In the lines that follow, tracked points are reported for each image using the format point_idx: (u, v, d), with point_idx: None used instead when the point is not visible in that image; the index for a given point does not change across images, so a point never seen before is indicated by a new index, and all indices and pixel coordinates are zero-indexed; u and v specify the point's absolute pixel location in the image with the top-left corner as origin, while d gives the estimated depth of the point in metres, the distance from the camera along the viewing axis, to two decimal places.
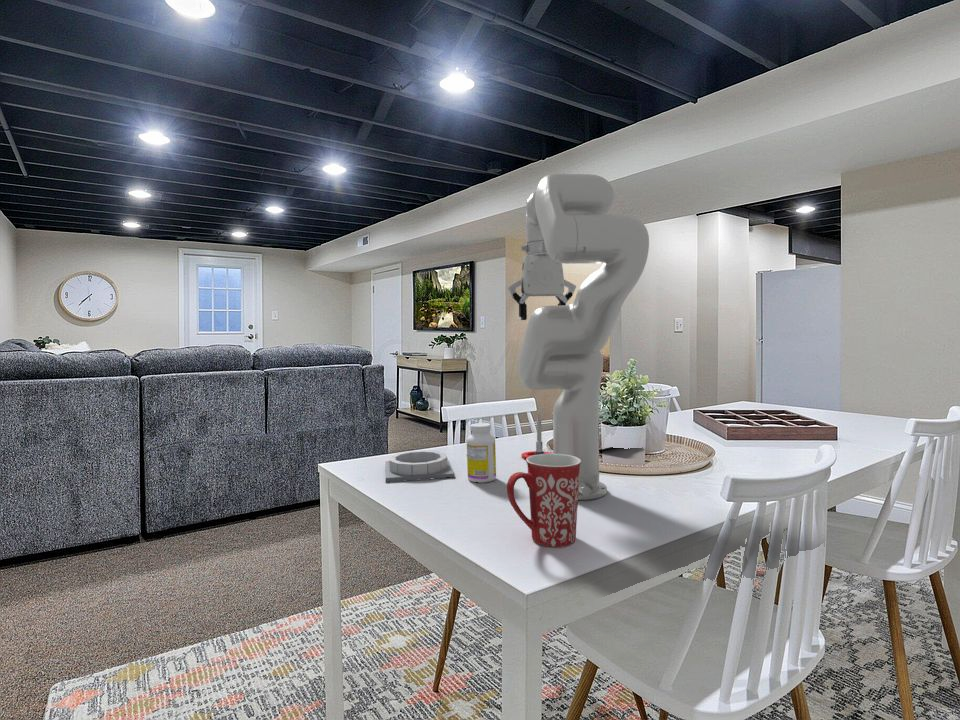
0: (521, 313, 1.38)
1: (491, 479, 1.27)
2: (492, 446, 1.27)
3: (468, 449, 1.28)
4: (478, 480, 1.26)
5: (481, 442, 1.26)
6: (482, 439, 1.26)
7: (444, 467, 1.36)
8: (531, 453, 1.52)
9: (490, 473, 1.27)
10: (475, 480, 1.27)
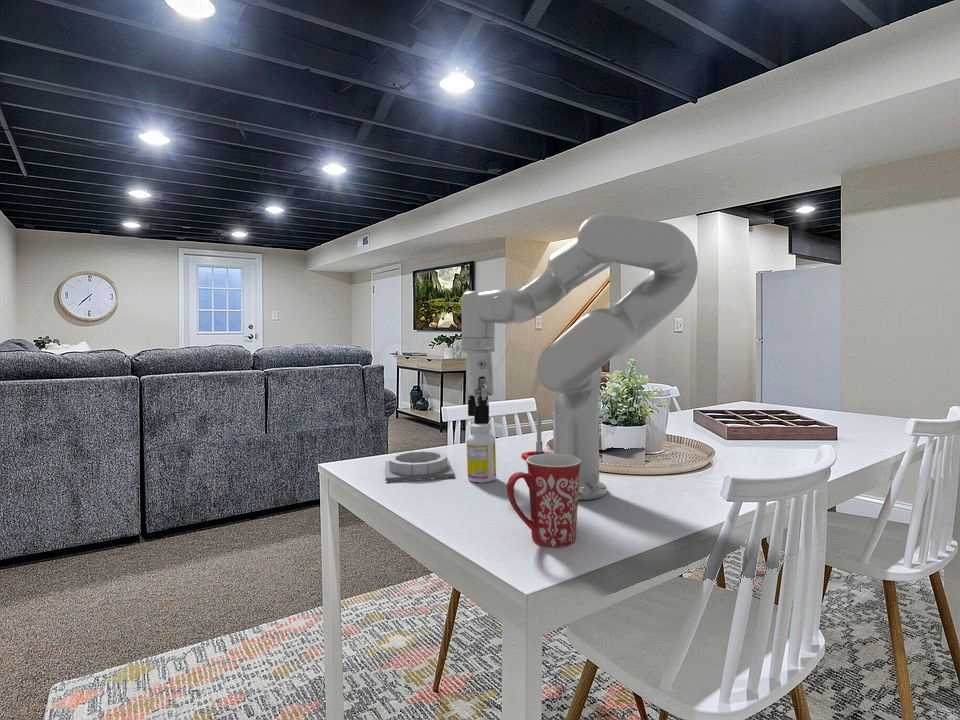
0: (485, 416, 1.24)
1: (491, 479, 1.27)
2: (492, 446, 1.27)
3: (468, 449, 1.28)
4: (478, 480, 1.26)
5: (481, 442, 1.26)
6: (482, 439, 1.26)
7: (444, 467, 1.36)
8: (531, 453, 1.52)
9: (490, 473, 1.27)
10: (475, 480, 1.27)
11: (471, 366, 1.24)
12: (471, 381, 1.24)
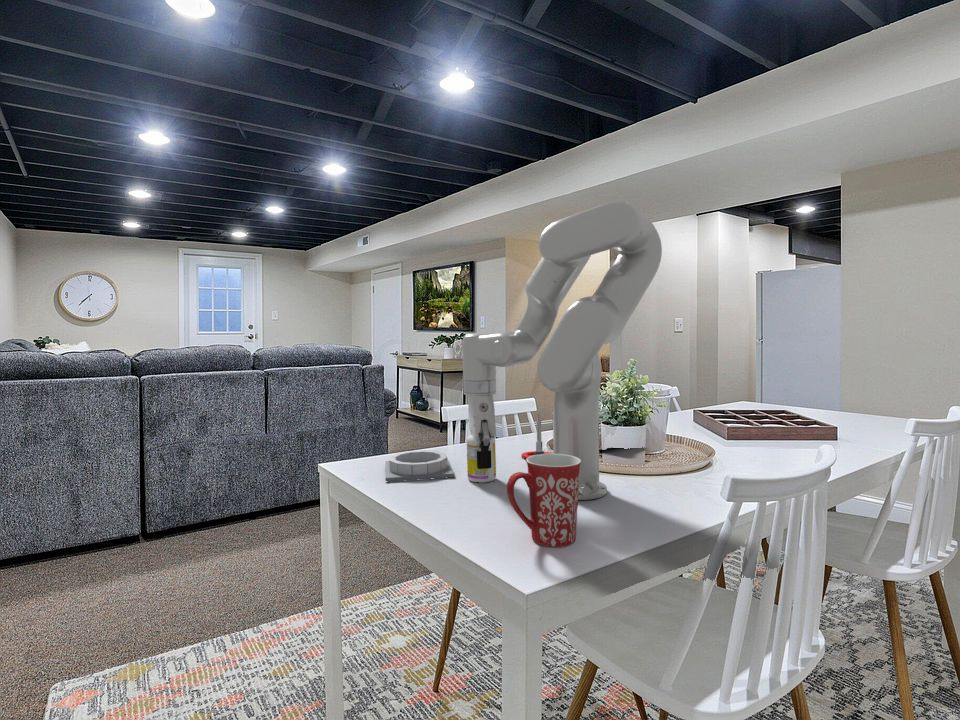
0: (488, 461, 1.25)
1: (491, 479, 1.27)
2: (492, 446, 1.27)
3: (468, 449, 1.28)
4: (478, 480, 1.26)
5: None
6: None
7: (444, 467, 1.36)
8: (531, 453, 1.52)
9: (490, 473, 1.27)
10: (475, 480, 1.27)
11: (473, 409, 1.24)
12: (474, 424, 1.25)
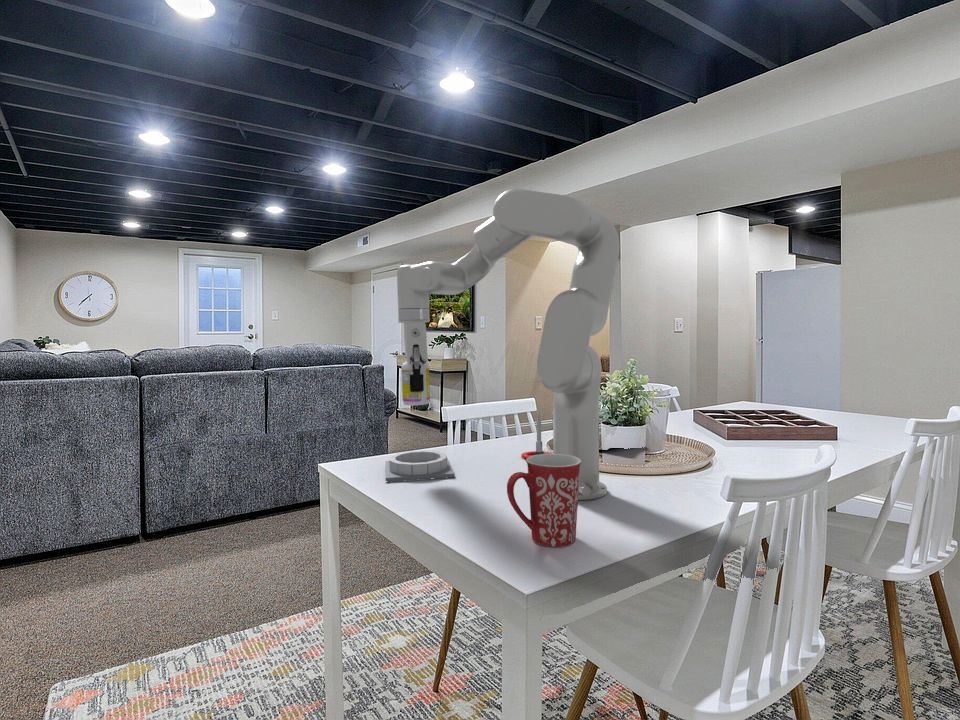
0: (420, 385, 1.32)
1: (424, 402, 1.35)
2: (425, 371, 1.34)
3: (402, 374, 1.35)
4: (411, 403, 1.34)
5: None
6: None
7: (444, 467, 1.36)
8: (531, 453, 1.52)
9: (423, 397, 1.34)
10: (408, 403, 1.34)
11: (406, 335, 1.32)
12: (406, 349, 1.32)
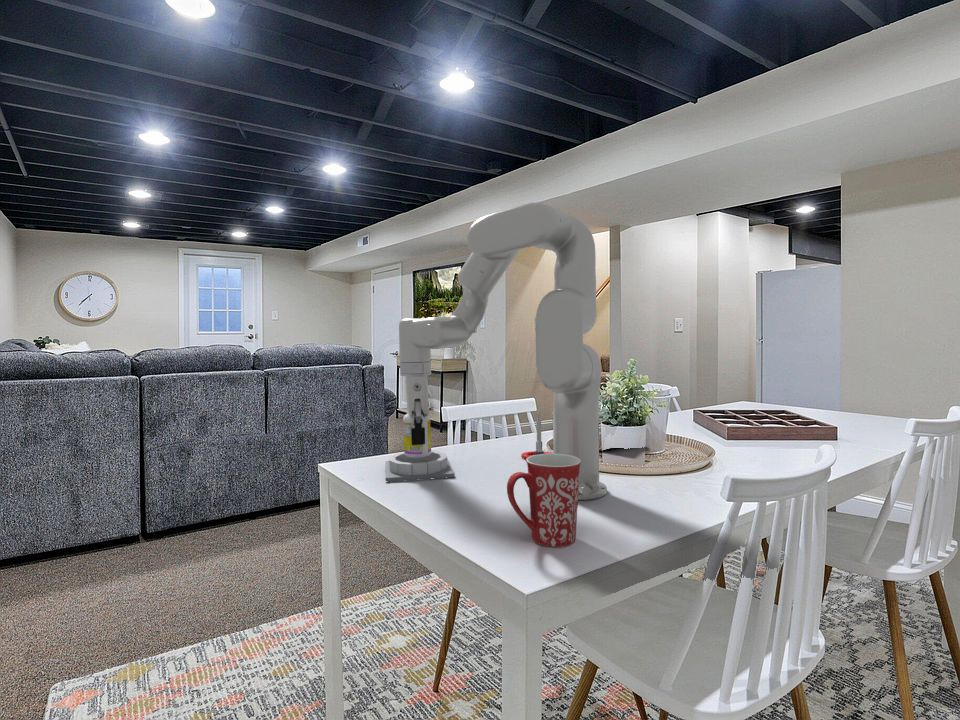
0: (421, 438, 1.33)
1: (425, 455, 1.35)
2: (426, 424, 1.35)
3: (404, 426, 1.36)
4: (413, 455, 1.35)
5: None
6: None
7: (444, 467, 1.36)
8: (531, 453, 1.52)
9: (424, 449, 1.35)
10: (410, 455, 1.35)
11: (407, 388, 1.33)
12: (408, 403, 1.33)
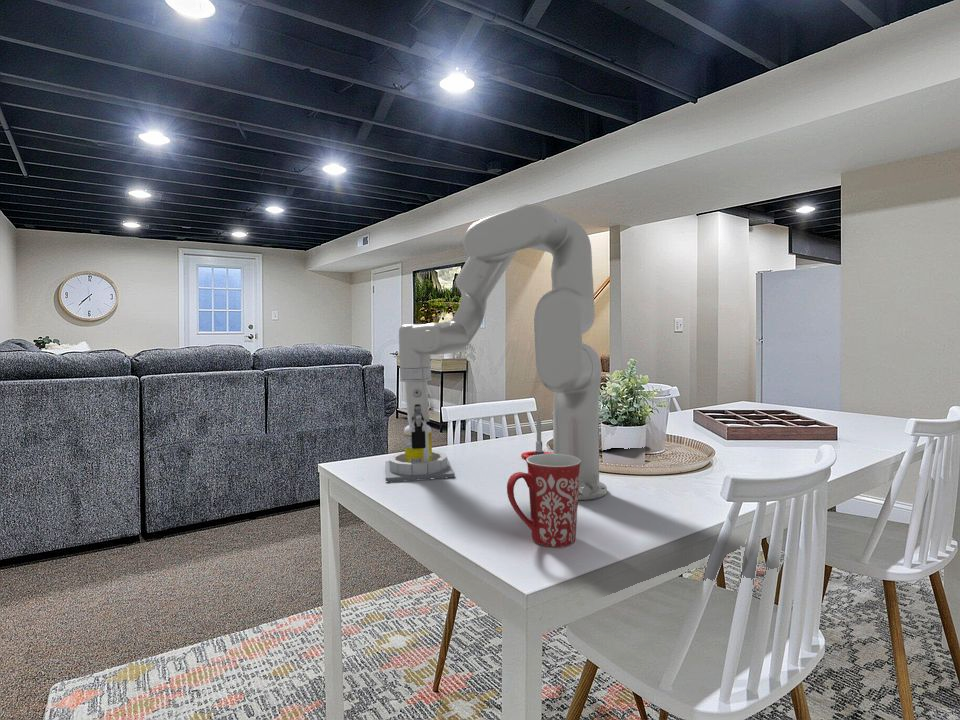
0: (422, 441, 1.32)
1: None
2: (427, 436, 1.35)
3: (405, 438, 1.36)
4: None
5: None
6: None
7: (444, 467, 1.36)
8: (531, 453, 1.52)
9: (425, 461, 1.35)
10: None
11: (408, 394, 1.33)
12: (408, 409, 1.33)
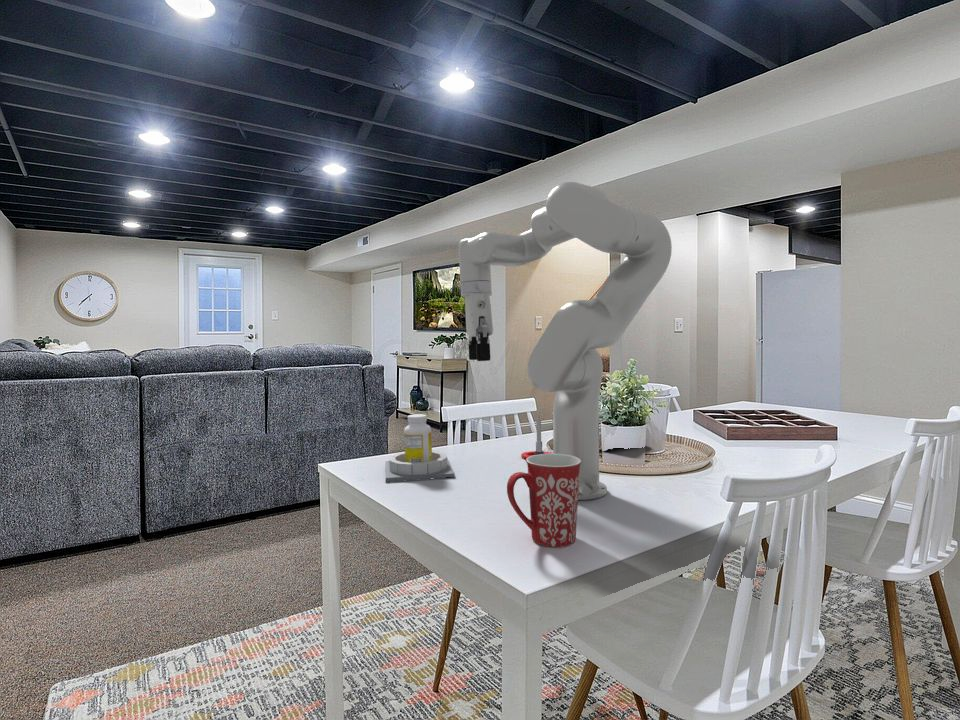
0: None
1: None
2: (427, 436, 1.36)
3: (405, 438, 1.36)
4: None
5: (416, 432, 1.34)
6: (417, 429, 1.34)
7: (444, 467, 1.36)
8: (531, 453, 1.52)
9: (425, 461, 1.35)
10: None
11: (471, 307, 1.32)
12: (472, 321, 1.32)
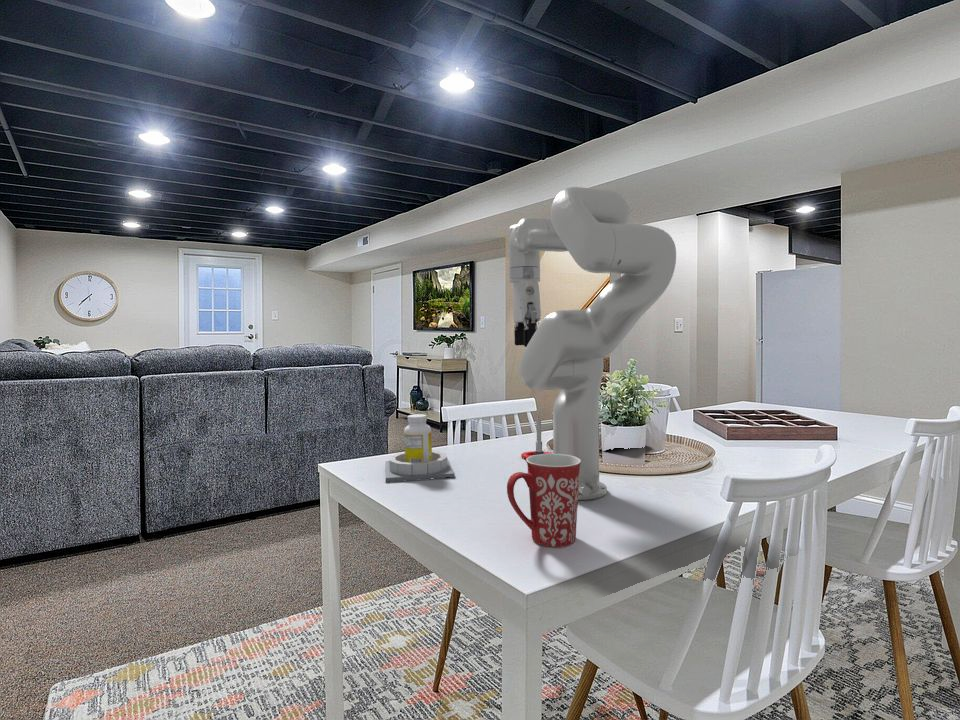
0: None
1: None
2: (427, 436, 1.35)
3: (405, 438, 1.36)
4: None
5: (416, 432, 1.34)
6: (417, 429, 1.34)
7: (444, 467, 1.36)
8: (531, 453, 1.52)
9: (425, 461, 1.35)
10: None
11: (520, 293, 1.33)
12: (520, 307, 1.33)
